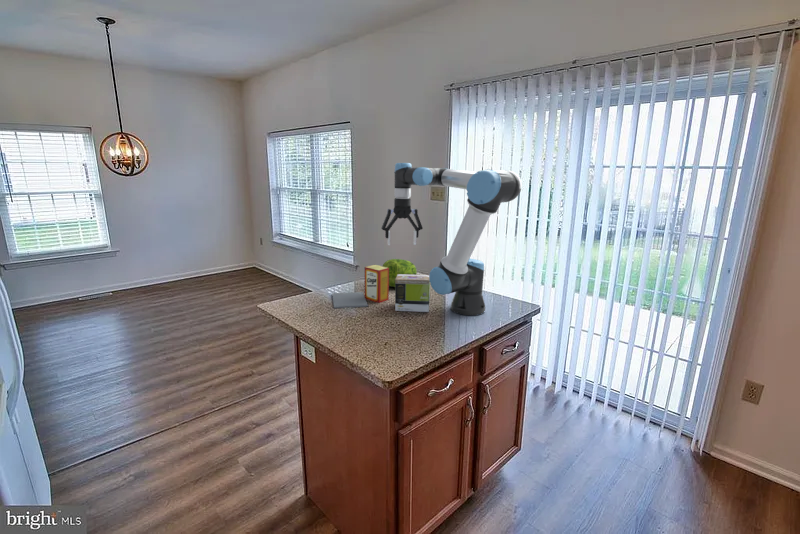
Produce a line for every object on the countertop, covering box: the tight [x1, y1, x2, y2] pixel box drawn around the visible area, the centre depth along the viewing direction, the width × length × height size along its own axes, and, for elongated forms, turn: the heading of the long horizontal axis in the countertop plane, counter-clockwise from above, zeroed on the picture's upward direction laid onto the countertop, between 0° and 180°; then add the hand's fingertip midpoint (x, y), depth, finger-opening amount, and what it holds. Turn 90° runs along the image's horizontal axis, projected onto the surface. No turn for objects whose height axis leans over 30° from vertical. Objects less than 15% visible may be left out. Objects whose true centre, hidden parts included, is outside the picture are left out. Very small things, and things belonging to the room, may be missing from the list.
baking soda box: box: [364, 264, 390, 304], centre depth 186 cm, size 10×6×16 cm
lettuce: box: [381, 258, 418, 288], centre depth 209 cm, size 16×21×15 cm
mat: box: [331, 291, 369, 309], centre depth 185 cm, size 20×15×1 cm
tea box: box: [394, 274, 431, 313], centre depth 175 cm, size 15×10×15 cm, turn 84°
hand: (401, 244), depth 184 cm, fingers open, 12 cm apart
